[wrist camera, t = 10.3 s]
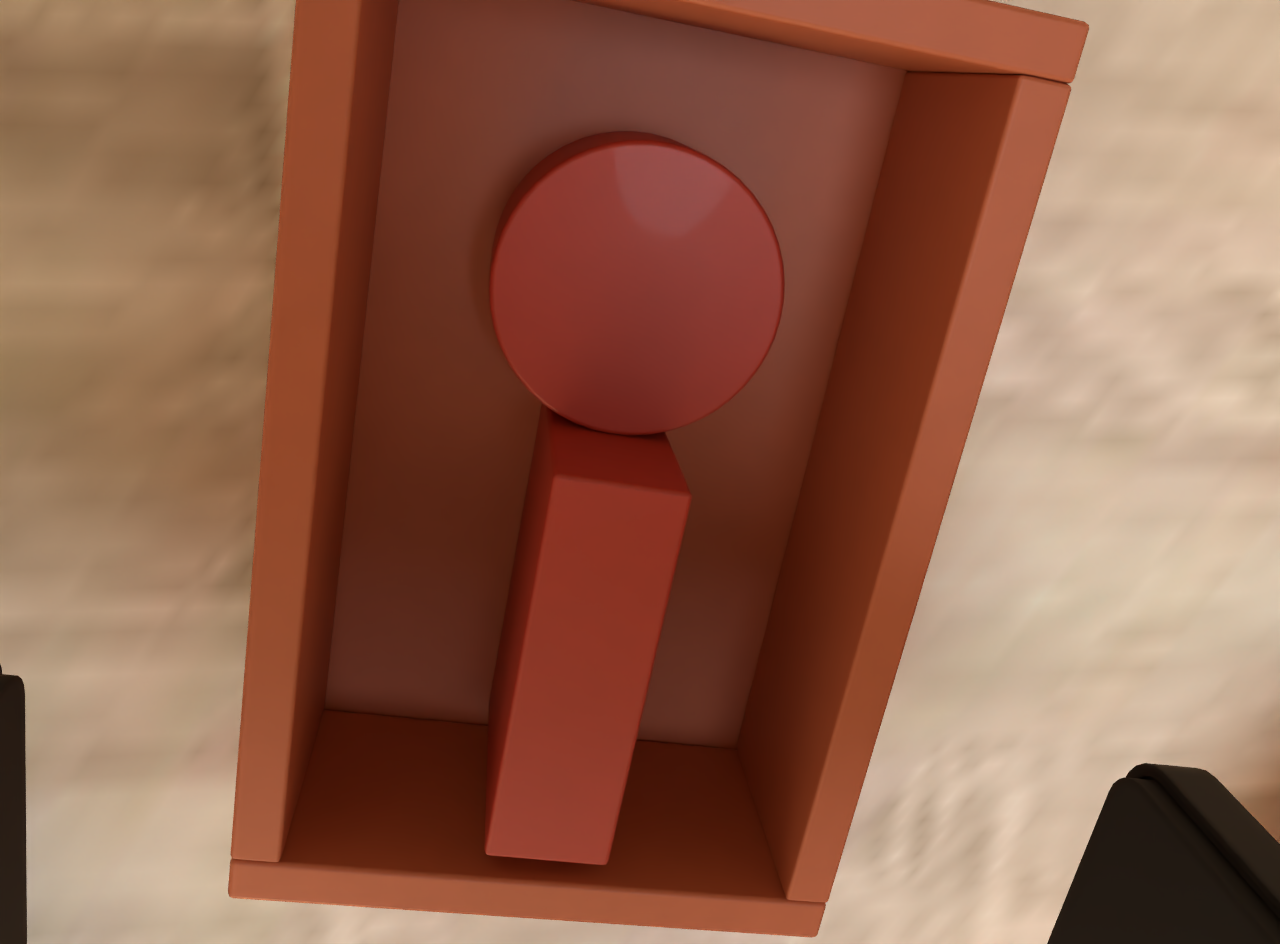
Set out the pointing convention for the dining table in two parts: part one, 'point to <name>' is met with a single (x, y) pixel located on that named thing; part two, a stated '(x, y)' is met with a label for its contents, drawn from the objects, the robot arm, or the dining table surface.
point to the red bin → (706, 450)
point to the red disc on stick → (608, 453)
